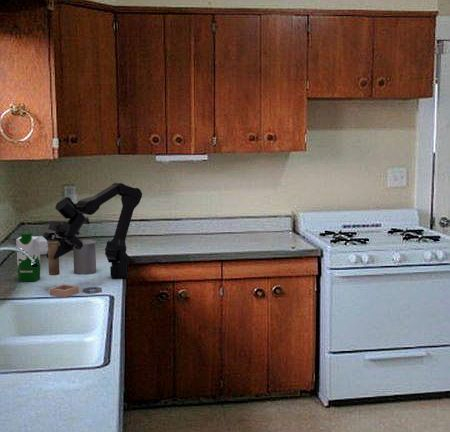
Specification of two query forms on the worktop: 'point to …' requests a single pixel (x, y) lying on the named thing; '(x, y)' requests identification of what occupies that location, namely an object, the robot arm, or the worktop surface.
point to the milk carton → (23, 262)
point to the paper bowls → (43, 245)
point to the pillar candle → (85, 258)
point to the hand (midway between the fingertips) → (50, 258)
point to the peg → (52, 262)
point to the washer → (97, 289)
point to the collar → (64, 290)
